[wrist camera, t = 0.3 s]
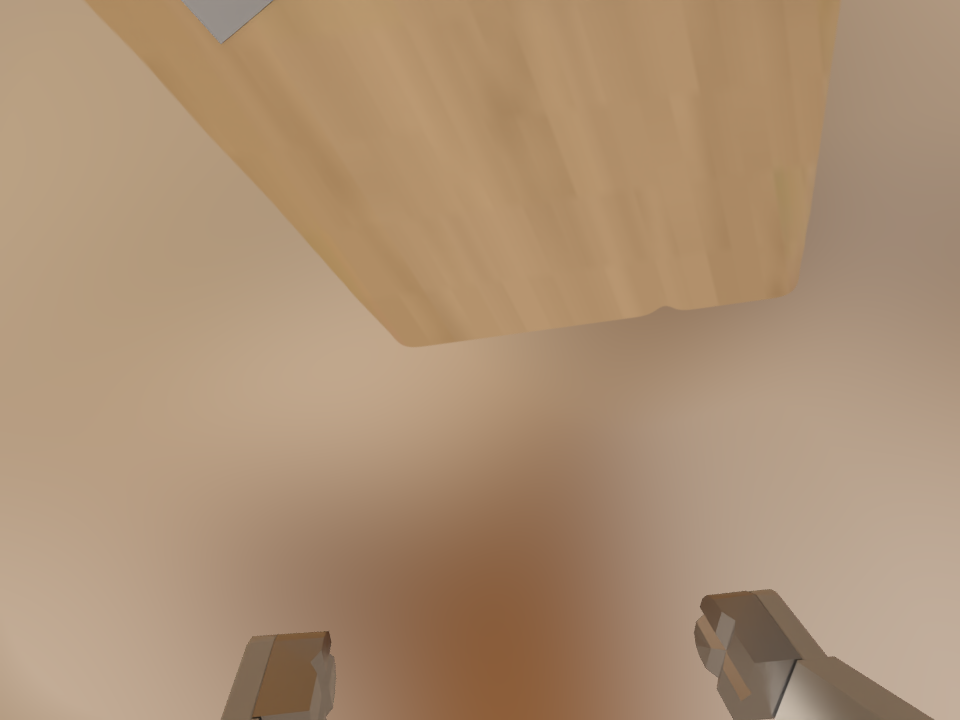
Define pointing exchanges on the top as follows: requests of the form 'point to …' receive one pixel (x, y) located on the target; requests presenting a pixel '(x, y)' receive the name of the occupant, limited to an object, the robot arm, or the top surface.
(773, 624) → the robot arm
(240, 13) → the board
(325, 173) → the top surface
